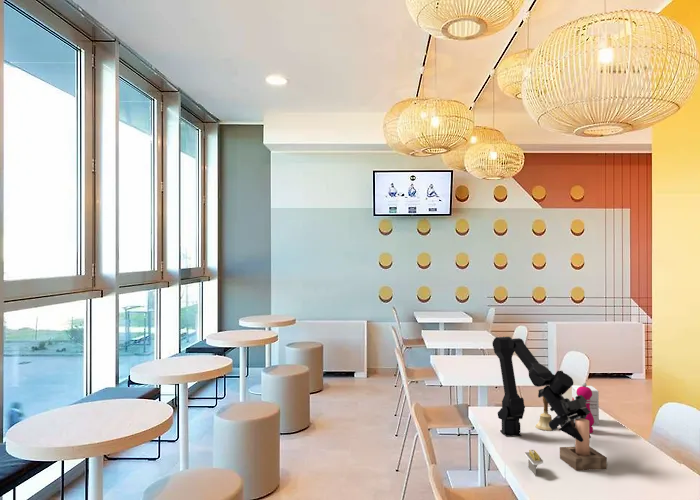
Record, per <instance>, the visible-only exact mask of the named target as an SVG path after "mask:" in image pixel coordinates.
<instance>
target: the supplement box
mask: <svg viewBox="0 0 700 500" xmlns="http://www.w3.org/2000/svg"><path fill="white" fill-rule="evenodd" d="M581 386H582V385H579V384H578V385H575V384H573V385H572V386H571V401H572V400H576V396H578V395H577V393H576V392H577V389H578V388H579V387H581ZM586 387H588V388H590V389H591V391H592V396H591V398H590V399H591V403H590V411H591V413H592V415H593V418H594V424H593V425H592V426H599V424H600V414H599V413H600V411H599V410H600V409H599V408H600V406H599V405H600V404H599V403H600V402H599V400H600V399H599V390H598V389H596V387H594V386H593V385H587V386H586Z"/></svg>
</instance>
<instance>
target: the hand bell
mask: <svg viewBox="0 0 700 500" xmlns="http://www.w3.org/2000/svg"><path fill="white" fill-rule="evenodd" d="M542 402H543V412H542V413H540V415H539V420H538V422H537V423H536V424H535V428H536V429H538V430H540V431H545V430H546V431H547V432H548V431H549V432H551V431H552V429H551V428H550V427H549V422H550V421H551V420H552V415H551V414H549V403H548V402H547V401H546V399H545V398H544V397H542Z"/></svg>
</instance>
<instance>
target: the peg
mask: <svg viewBox="0 0 700 500" xmlns="http://www.w3.org/2000/svg"><path fill="white" fill-rule="evenodd" d="M575 427H576V429H577V430H578V432H579V433H580V435H581V436H582V438H583V441H582V442H580V441H579V440H577V439H575V438H574V439H575V440H574V443H575V444H574V445H575V446H574V447H576V454H577V455H578V456H590V447H591V446H590V445H591V444H590V443H591V442H590V439H589V434H590V433H589V420H587V419H582V418H578V419H575Z"/></svg>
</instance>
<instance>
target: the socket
mask: <svg viewBox="0 0 700 500" xmlns="http://www.w3.org/2000/svg"><path fill="white" fill-rule="evenodd" d="M559 459H560V460H561V461H563V462H564V463H565V464H566V465H568V466H569V467H571V468H572V469H573V470H575V472H578V471H579V472H580V471H596V470H599V471H600V470H607V469H608V464H607V463H608V458H607V456H606V455H603V454H602V453H601V452H599V451H597V450H596V449H595V448H594V447H591V446H590V456H578V455H577V454H576V446H559Z"/></svg>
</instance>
